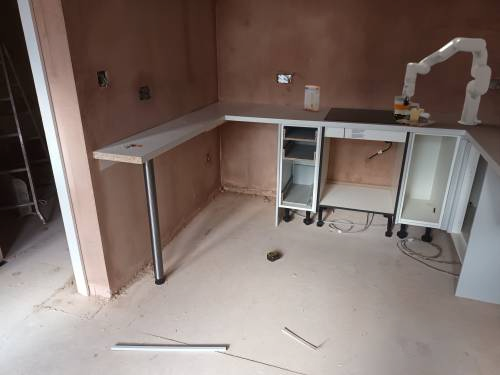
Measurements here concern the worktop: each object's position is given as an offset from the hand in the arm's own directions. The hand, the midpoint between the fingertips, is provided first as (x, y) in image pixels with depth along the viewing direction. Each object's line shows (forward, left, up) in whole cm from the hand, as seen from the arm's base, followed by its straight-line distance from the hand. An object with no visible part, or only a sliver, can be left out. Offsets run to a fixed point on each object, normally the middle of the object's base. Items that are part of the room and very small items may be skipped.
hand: (405, 105), depth 284 cm
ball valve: (-7, -5, -11) cm, 14 cm away
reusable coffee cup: (+18, -23, -13) cm, 32 cm away
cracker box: (+79, +20, -13) cm, 82 cm away
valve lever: (-3, -4, -2) cm, 5 cm away
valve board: (-7, -5, -13) cm, 15 cm away
